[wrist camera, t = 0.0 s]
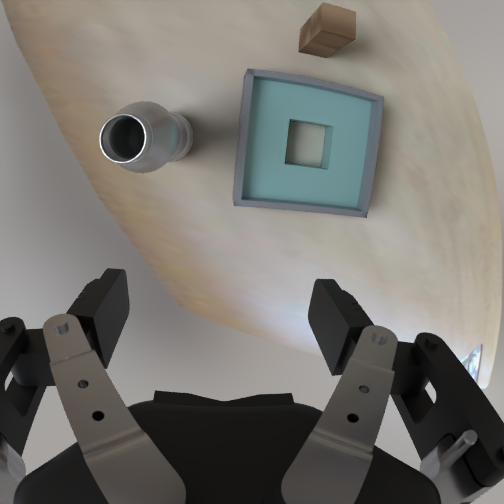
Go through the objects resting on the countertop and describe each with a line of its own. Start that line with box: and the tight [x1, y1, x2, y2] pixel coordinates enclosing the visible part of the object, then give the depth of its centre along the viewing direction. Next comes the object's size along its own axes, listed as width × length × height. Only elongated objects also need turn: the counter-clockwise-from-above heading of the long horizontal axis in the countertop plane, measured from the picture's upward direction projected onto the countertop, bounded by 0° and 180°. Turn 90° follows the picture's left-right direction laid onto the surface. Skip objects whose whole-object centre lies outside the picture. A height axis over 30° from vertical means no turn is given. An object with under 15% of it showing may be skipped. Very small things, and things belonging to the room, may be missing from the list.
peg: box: [299, 3, 356, 58], centre depth 27 cm, size 4×4×10 cm
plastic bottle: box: [99, 101, 193, 173], centre depth 26 cm, size 6×7×20 cm
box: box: [233, 69, 384, 218], centre depth 35 cm, size 17×18×5 cm
